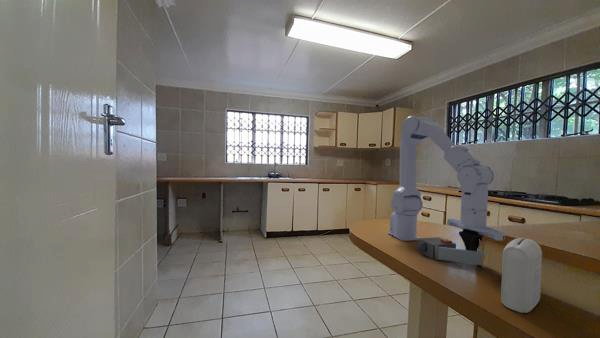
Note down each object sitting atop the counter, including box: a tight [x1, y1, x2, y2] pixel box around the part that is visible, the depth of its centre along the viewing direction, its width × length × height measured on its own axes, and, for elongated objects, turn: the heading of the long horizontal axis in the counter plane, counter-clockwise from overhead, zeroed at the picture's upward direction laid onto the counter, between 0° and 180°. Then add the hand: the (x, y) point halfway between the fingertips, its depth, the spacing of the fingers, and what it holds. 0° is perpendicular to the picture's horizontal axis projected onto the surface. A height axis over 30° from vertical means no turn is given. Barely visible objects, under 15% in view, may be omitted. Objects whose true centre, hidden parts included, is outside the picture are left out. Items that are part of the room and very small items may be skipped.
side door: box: [434, 245, 486, 266], centre depth 62 cm, size 1×12×4 cm, turn 73°
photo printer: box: [500, 237, 543, 314], centre depth 44 cm, size 10×4×12 cm, turn 123°
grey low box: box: [416, 236, 457, 260], centre depth 68 cm, size 6×9×5 cm, turn 103°
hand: (471, 258), depth 63 cm, fingers closed, pressing on side door
